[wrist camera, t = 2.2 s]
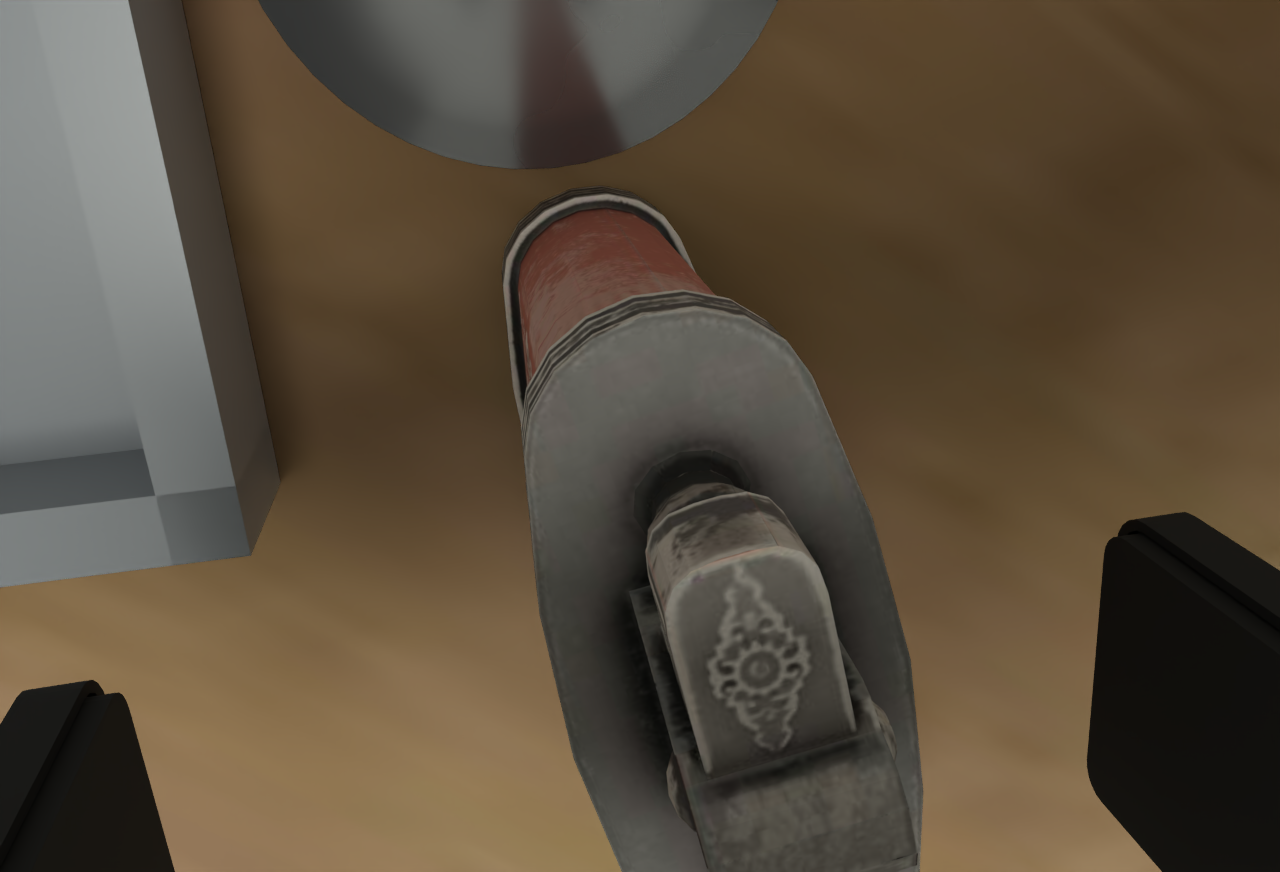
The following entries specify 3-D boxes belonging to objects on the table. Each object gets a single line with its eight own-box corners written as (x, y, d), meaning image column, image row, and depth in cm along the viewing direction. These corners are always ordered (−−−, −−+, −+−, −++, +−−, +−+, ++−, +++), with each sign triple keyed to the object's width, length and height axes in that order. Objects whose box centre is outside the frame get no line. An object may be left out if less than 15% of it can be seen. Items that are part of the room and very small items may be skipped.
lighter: (456, 220, 16) (437, 493, 7) (681, 158, 16) (962, 343, 7) (597, 678, 19) (717, 1297, 10) (787, 622, 19) (1081, 1180, 10)
